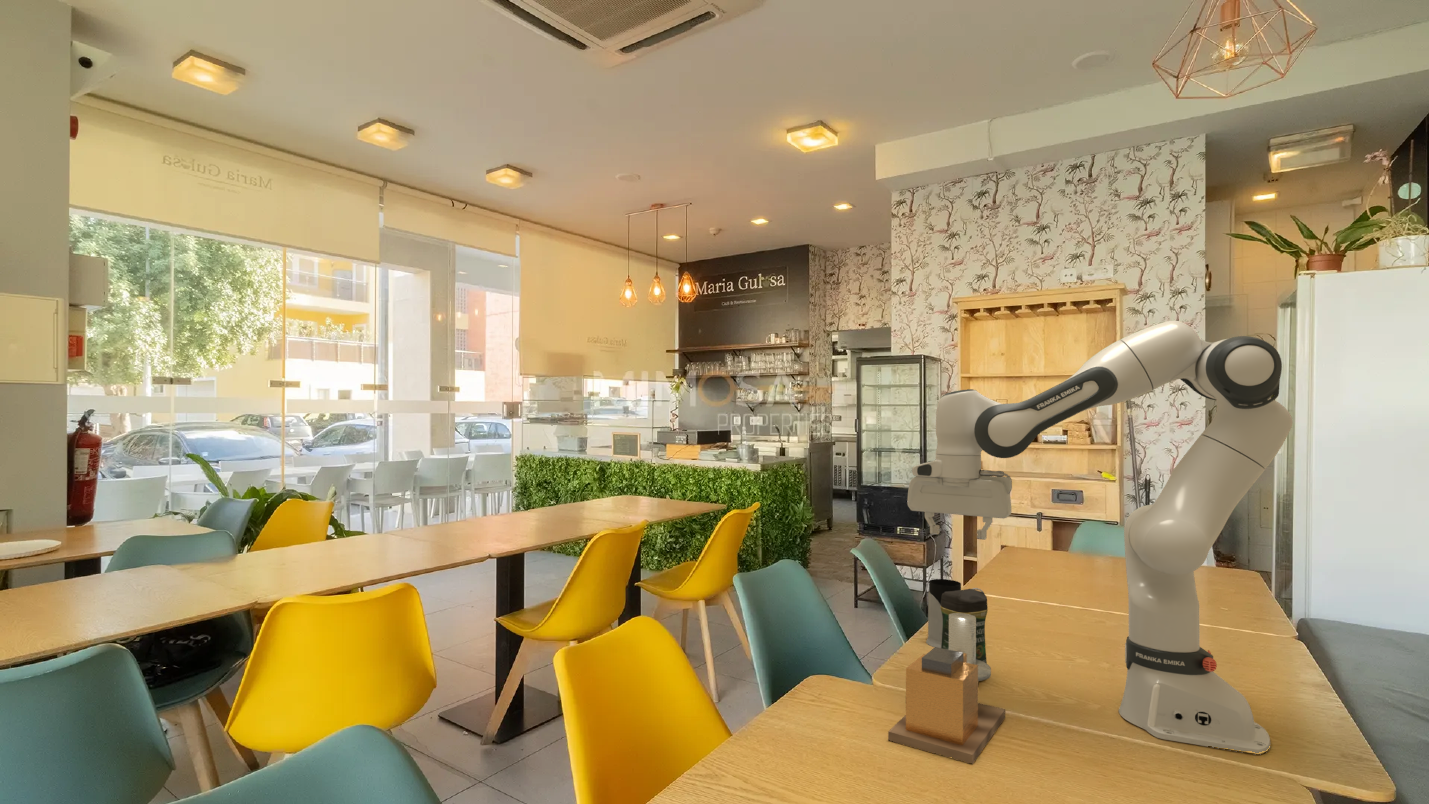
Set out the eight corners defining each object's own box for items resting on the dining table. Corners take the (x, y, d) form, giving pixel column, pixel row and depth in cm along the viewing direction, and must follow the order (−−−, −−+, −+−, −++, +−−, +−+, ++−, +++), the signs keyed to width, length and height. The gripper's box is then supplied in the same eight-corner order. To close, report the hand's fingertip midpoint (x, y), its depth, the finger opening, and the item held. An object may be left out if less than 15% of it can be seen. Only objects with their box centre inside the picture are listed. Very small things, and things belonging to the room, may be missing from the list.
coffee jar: (961, 687, 144) (962, 596, 144) (933, 675, 151) (933, 588, 151) (994, 680, 148) (994, 591, 149) (965, 668, 155) (965, 583, 156)
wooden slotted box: (943, 690, 138) (943, 606, 139) (996, 703, 133) (996, 615, 133) (904, 729, 121) (905, 633, 121) (964, 745, 115) (964, 644, 115)
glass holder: (922, 637, 177) (922, 578, 177) (978, 639, 176) (979, 579, 177) (931, 649, 168) (931, 586, 168) (991, 650, 168) (991, 587, 168)
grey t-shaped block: (934, 711, 126) (935, 647, 126) (963, 718, 123) (963, 652, 123) (921, 725, 120) (921, 657, 120) (951, 733, 117) (951, 664, 117)
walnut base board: (930, 699, 138) (930, 691, 138) (1005, 717, 130) (1005, 709, 130) (888, 740, 120) (888, 731, 120) (972, 764, 112) (972, 754, 112)
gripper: (1015, 470, 140) (1015, 540, 140) (915, 465, 152) (914, 529, 152) (1008, 472, 135) (1007, 544, 135) (904, 467, 147) (904, 533, 147)
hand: (957, 536), depth 143 cm, fingers open, 8 cm apart
